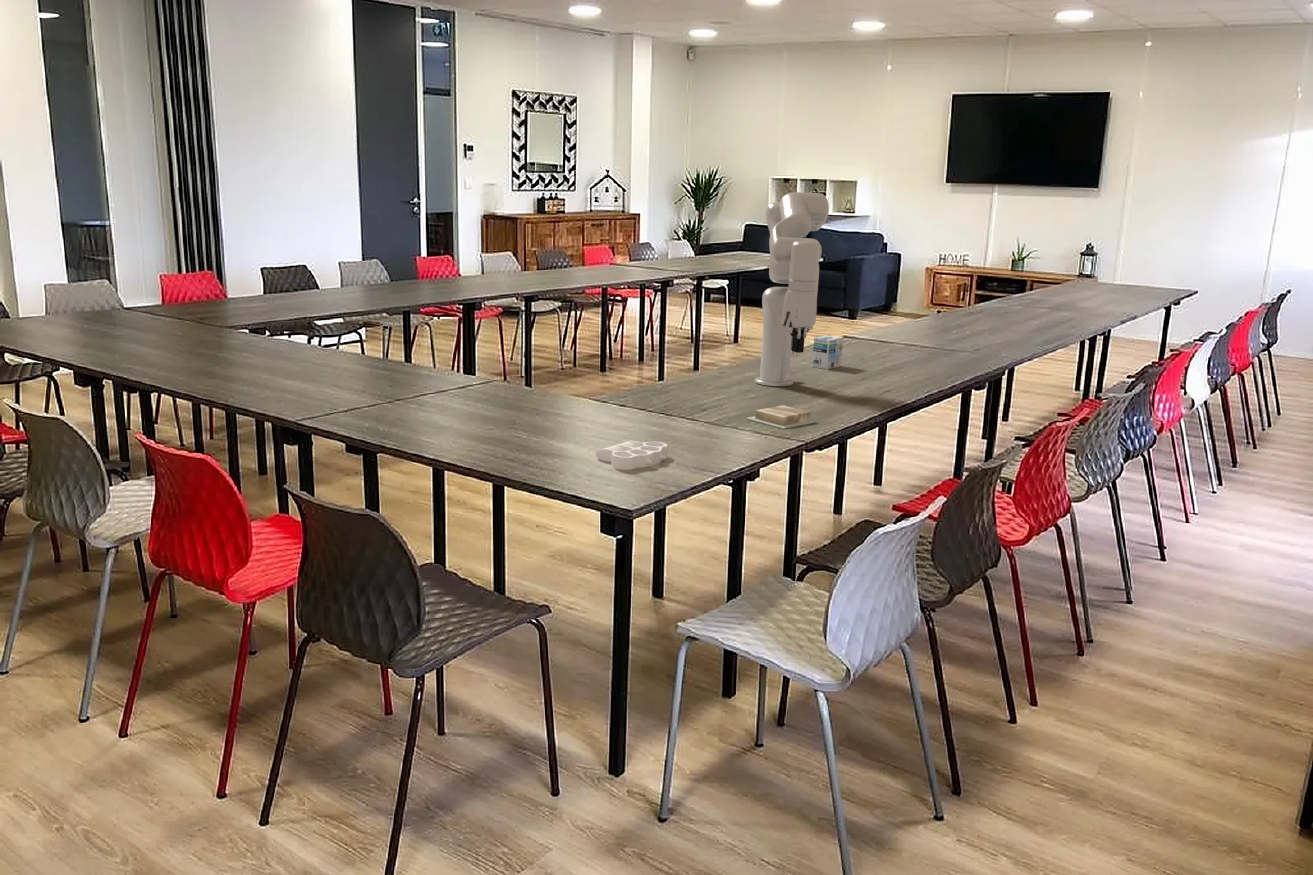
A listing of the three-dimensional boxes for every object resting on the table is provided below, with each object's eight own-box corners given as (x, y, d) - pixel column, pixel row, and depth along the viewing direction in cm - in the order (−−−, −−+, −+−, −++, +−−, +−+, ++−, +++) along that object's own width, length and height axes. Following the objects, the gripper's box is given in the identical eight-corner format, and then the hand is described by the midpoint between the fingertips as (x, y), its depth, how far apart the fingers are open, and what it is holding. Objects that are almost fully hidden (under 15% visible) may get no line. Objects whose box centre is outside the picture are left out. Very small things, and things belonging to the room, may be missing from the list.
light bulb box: (827, 370, 378) (829, 340, 376) (810, 367, 382) (813, 337, 379) (841, 366, 387) (844, 336, 384) (825, 363, 390) (827, 334, 388)
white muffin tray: (632, 449, 265) (681, 460, 257) (587, 463, 251) (636, 475, 242) (633, 436, 264) (681, 446, 256) (587, 449, 250) (637, 461, 242)
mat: (776, 413, 308) (776, 412, 308) (813, 422, 298) (813, 421, 298) (745, 418, 299) (745, 417, 299) (783, 429, 289) (783, 428, 289)
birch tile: (783, 405, 306) (755, 410, 298) (810, 411, 299) (782, 417, 291) (783, 413, 307) (755, 418, 299) (810, 420, 300) (782, 425, 292)
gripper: (809, 283, 300) (804, 347, 305) (774, 286, 291) (769, 352, 295) (830, 286, 295) (824, 351, 300) (795, 289, 285) (789, 356, 290)
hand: (797, 351), depth 298 cm, fingers closed
